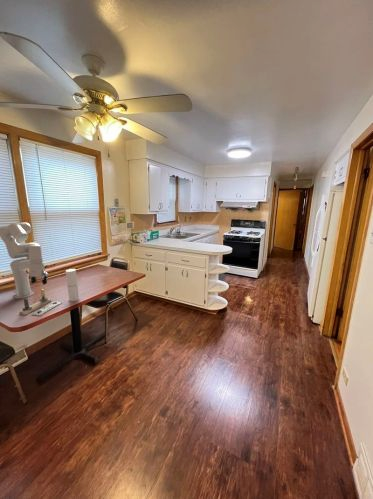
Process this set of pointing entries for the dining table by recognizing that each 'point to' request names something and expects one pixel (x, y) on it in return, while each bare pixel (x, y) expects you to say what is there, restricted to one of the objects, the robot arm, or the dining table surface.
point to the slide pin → (43, 295)
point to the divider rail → (32, 306)
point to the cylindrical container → (72, 284)
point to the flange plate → (46, 308)
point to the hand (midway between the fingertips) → (39, 283)
